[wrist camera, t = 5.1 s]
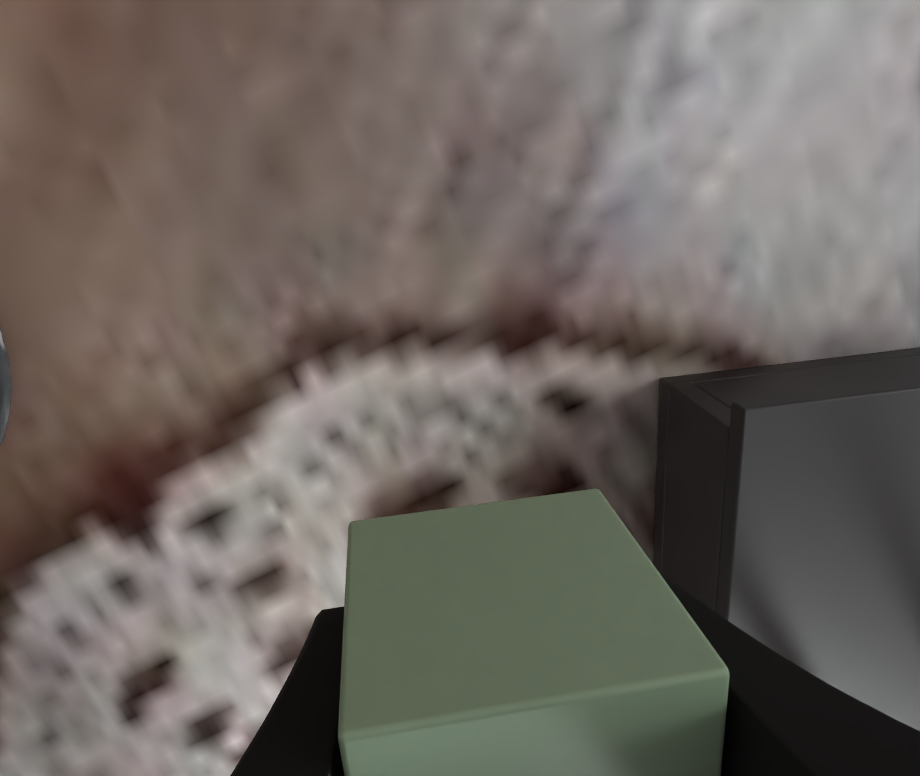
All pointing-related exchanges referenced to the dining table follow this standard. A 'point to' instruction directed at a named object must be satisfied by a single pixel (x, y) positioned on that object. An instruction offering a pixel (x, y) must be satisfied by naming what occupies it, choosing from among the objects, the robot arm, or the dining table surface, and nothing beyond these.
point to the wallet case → (706, 450)
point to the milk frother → (4, 388)
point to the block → (521, 648)
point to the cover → (829, 537)
